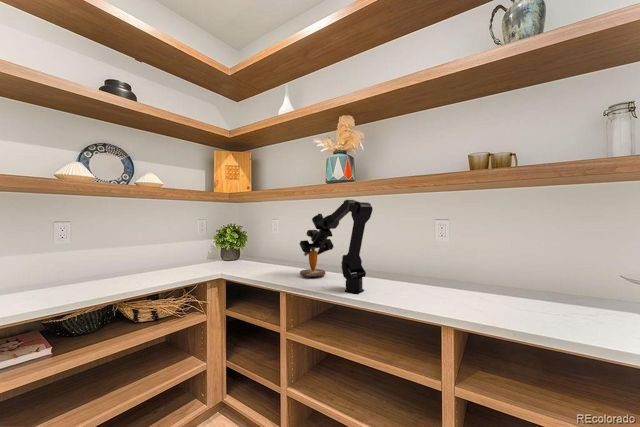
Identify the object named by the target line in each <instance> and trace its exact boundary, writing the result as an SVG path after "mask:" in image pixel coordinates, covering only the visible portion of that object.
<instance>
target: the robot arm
mask: <svg viewBox="0 0 640 427" xmlns="http://www.w3.org/2000/svg"><path fill="white" fill-rule="evenodd" d="M349 213H351V214H350V215H351V218H352V220H353V225H352V231H351V236H350V241H349V246H348V251H347V252H348V253H347V254H343V255H342V260H341V263H340V264H341V270H342V271H341V272H342V276H343V279H345V290H344V292H345V293H350V294H356V295H357V294H358V295H359V294H361V293H363V292H364V291H365V289H364V288H363V278H366V275H367V273H366V270H365V268H364V267H363V265H362V263H363V262H362V259H361V255H360V254H361V249H362V244H363V243H362V242H363V238H364V233H365V226H366V224H367V222H368V221H369V220H370V219H371V216H372V213H373V206H372V205H371V203H370V202H366V201H365V202H363V201H362V202H361V201H357V200H354V199H345V200H343V202H342V203H341V204H340V206H338V208H336V210H335V211H333V212H332V213H331V214H329V215H326V216H323V214H322V213H317V215H315V216H313V217H312V218H311V221H312V223H313V225H314V227H315V229H308V230H307V231H306V236H307V237H309V238H311V239H310V241H311V242H312V243H310V242H309V240H307V239H304V240H300V241H299V247H300V248H301V250H302V252H303V253H304V254H303V256H304V257H306V256H309V253H310V251H311V248H316V249H318V250H317V256H319V255H321V254H324V253H325V252H328V251H330V250H333V249H334V243H333V242H332V240H331V239H330V238H331V237H333V233H332V230H334V229H337V227H338V226H339V225H340V221H341V220H342V219H343V218H344V217H345V216H347V215H348V214H349ZM329 237H330V238H329Z"/></svg>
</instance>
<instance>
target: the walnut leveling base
mask: <svg viewBox="0 0 640 427" xmlns="http://www.w3.org/2000/svg"><path fill="white" fill-rule="evenodd" d="M299 275H300V276H304V279H311V277H318V278H323V277H324V275H326V270H324V269H317V268H315V270H314V271H312V269H311V268H307V269H302V270H299Z"/></svg>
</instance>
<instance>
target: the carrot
mask: <svg viewBox="0 0 640 427" xmlns="http://www.w3.org/2000/svg"><path fill="white" fill-rule="evenodd" d="M316 249H317V248H311V250H310V253H309V254H308V263H309V266H310V267H309V268H310V269H312V271H314V270H315V269H317V264H318V255H317V252H318V250H316Z"/></svg>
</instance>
